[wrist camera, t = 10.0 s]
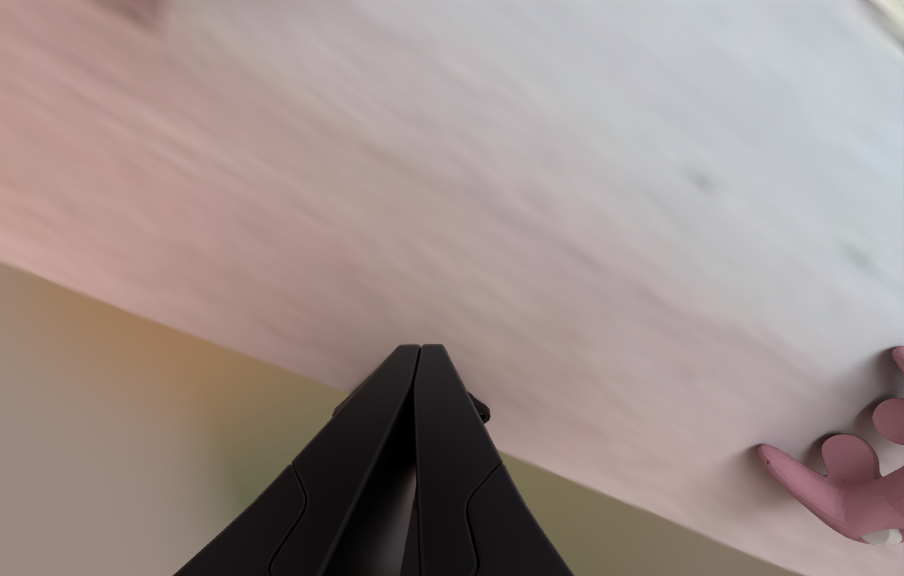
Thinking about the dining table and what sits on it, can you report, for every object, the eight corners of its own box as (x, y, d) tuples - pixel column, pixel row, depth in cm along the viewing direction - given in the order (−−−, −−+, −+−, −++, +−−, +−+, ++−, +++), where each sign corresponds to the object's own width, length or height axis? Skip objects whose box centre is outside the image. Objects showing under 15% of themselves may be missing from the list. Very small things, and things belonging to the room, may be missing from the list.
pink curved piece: (774, 451, 31) (876, 567, 27) (742, 453, 28) (850, 583, 24) (925, 344, 27) (1079, 463, 22) (904, 334, 24) (1077, 467, 19)
